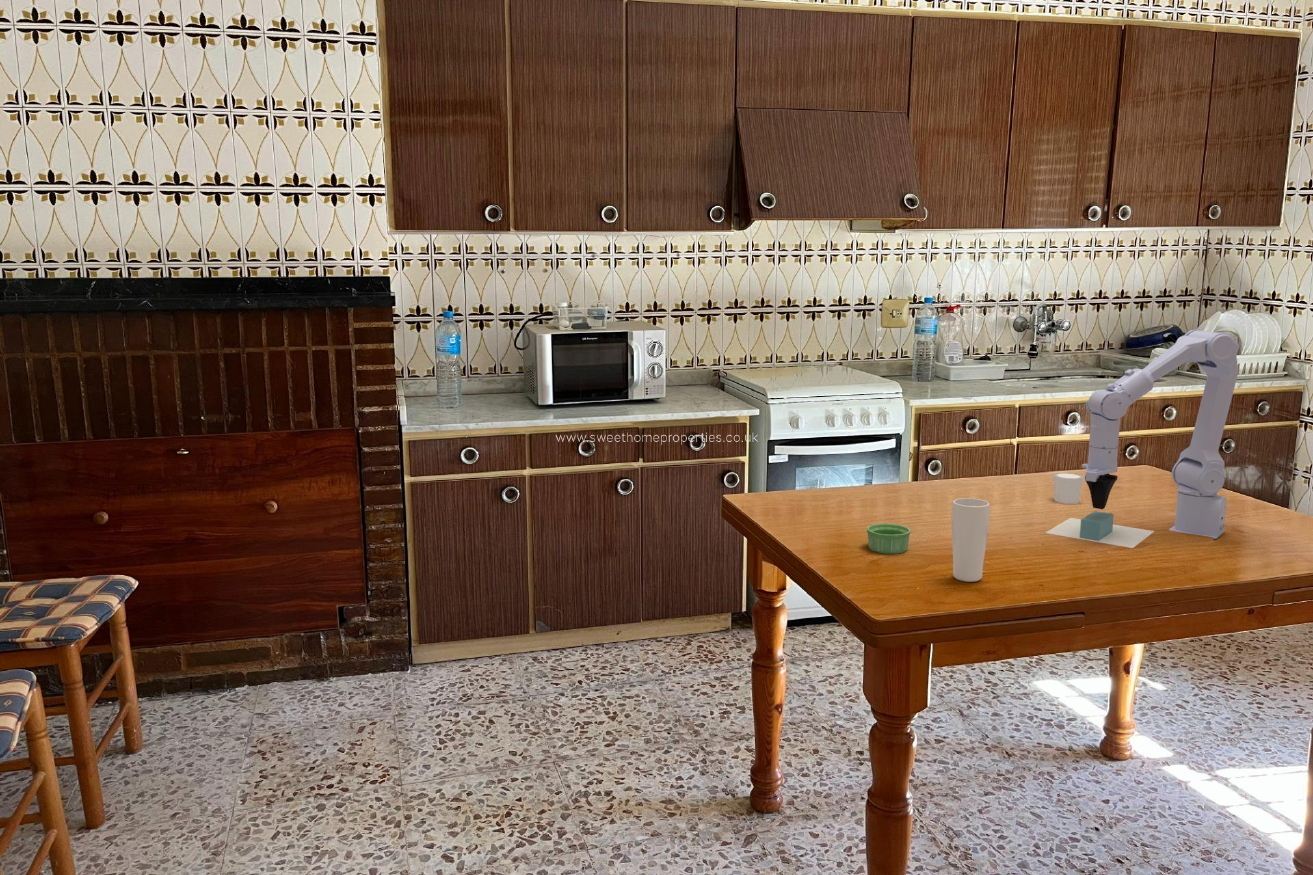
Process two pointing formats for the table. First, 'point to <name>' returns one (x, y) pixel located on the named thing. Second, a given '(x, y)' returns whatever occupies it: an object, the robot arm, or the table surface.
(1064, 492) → the white cylinder
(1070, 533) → the white mat
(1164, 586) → the table surface
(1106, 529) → the teal block
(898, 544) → the ramekin
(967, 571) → the drinking glass
